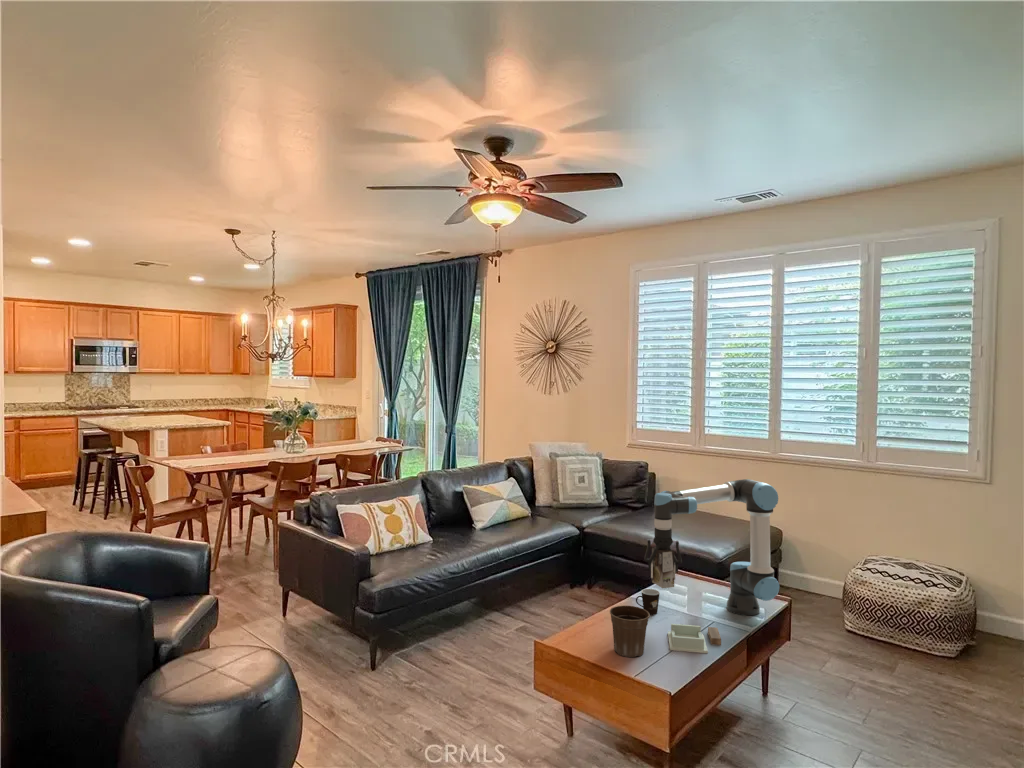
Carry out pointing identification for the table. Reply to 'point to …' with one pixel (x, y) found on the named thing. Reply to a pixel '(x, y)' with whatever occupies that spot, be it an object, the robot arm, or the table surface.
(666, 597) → the table surface
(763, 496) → the robot arm
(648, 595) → the coffee mug
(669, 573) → the coffee box
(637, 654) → the plant pot
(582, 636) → the table surface
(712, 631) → the brown wooden block
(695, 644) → the mint green tray
